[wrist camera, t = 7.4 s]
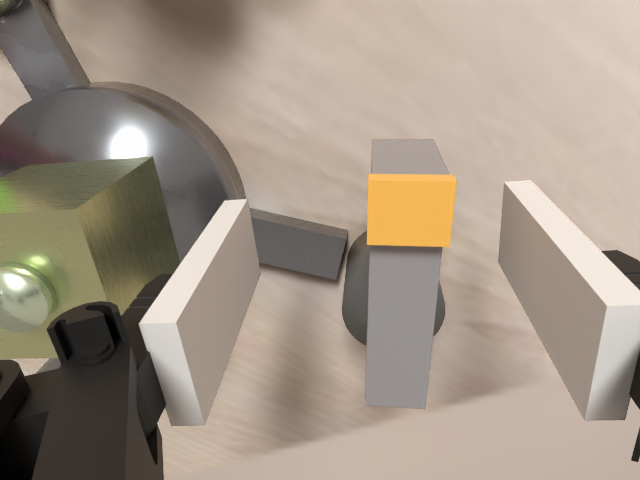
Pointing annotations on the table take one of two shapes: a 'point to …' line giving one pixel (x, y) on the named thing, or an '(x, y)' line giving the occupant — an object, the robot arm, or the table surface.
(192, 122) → the tribrach
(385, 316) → the knob
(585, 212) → the table surface
